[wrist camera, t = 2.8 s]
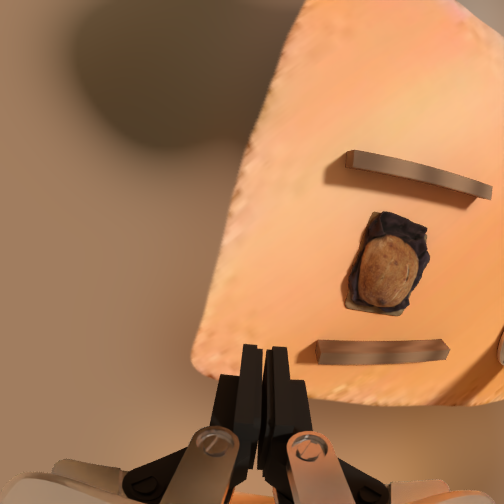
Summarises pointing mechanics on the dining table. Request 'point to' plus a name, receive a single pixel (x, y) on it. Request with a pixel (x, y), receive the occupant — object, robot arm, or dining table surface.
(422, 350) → the shelf lane
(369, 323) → the dining table surface
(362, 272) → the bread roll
